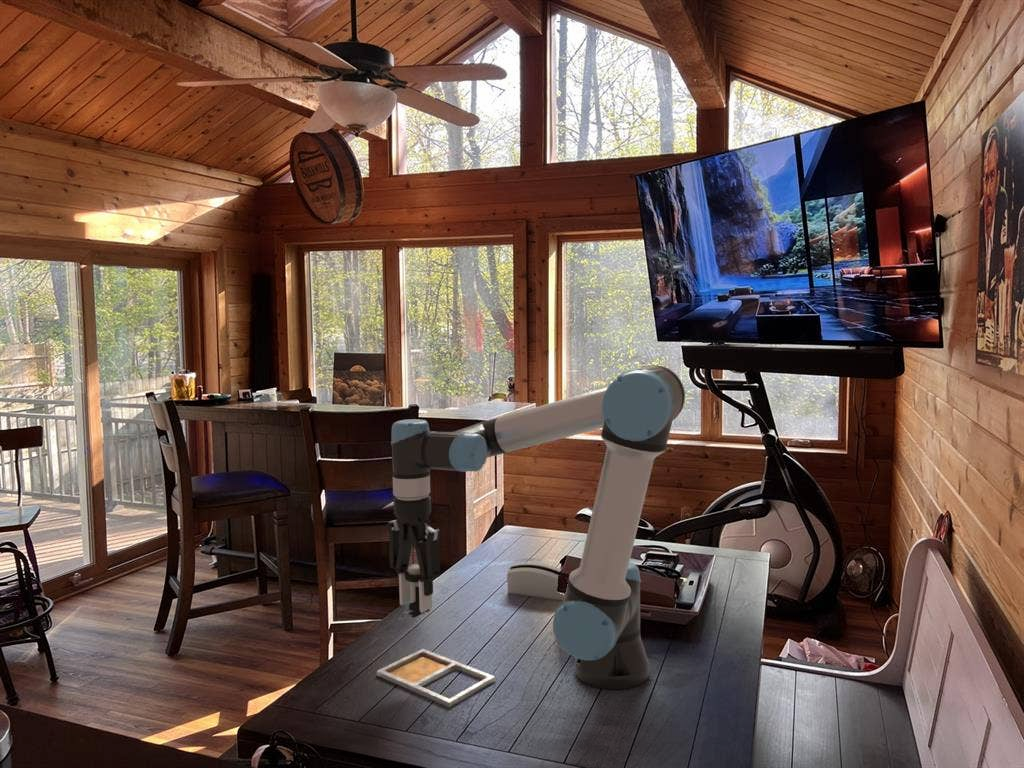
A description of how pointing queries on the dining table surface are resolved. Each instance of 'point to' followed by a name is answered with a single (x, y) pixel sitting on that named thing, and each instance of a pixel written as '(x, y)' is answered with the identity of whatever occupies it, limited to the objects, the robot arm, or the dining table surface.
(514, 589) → the white rounded block
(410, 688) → the white divided frame
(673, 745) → the dining table surface
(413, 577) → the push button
